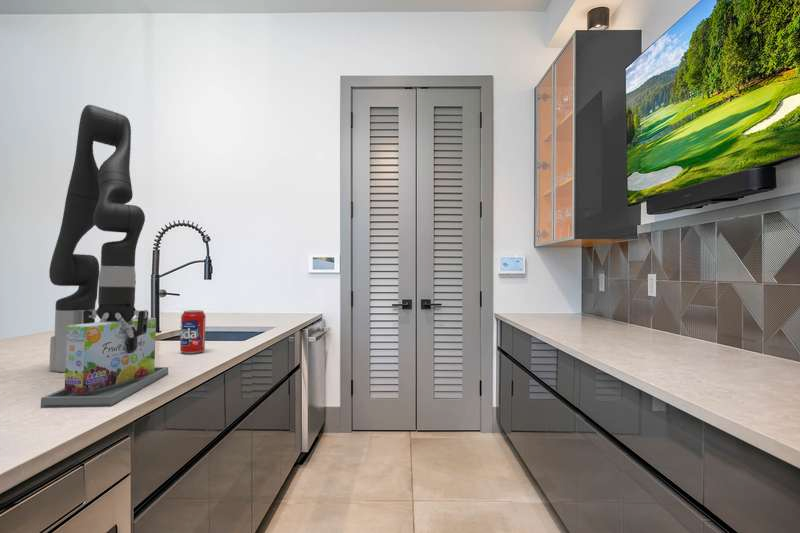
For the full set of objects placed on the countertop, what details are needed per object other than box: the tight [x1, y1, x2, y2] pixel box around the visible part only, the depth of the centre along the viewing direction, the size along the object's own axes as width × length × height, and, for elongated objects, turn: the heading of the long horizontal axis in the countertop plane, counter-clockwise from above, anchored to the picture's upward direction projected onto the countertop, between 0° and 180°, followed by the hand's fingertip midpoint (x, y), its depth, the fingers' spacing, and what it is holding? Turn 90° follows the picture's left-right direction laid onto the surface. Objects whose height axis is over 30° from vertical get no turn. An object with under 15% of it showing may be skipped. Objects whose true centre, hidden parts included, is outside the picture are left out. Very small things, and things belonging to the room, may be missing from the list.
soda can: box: [179, 309, 207, 355], centre depth 153 cm, size 8×8×15 cm
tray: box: [40, 366, 169, 408], centre depth 105 cm, size 14×30×2 cm, turn 7°
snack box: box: [64, 317, 157, 394], centre depth 105 cm, size 21×6×15 cm, turn 170°
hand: (115, 352), depth 105 cm, fingers open, 6 cm apart
